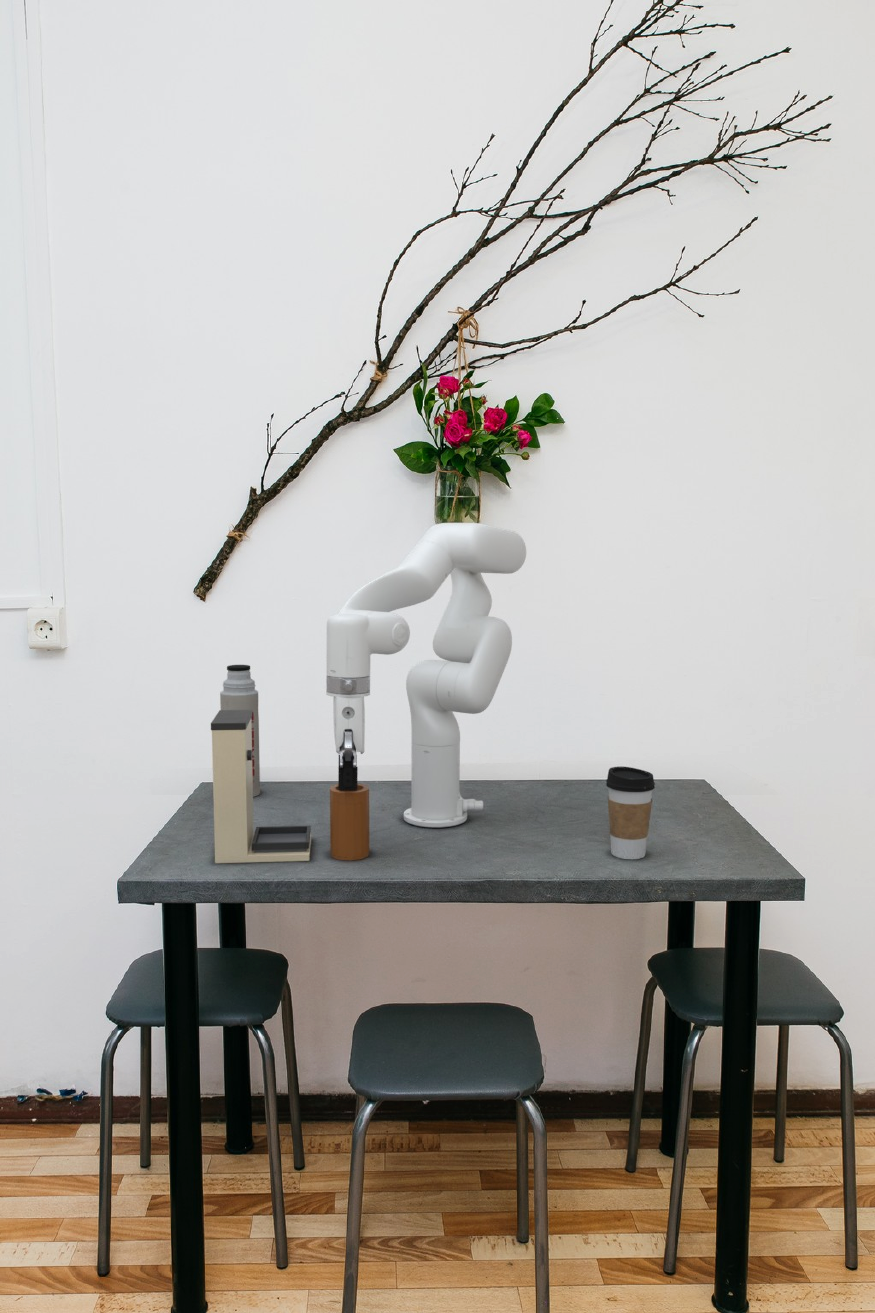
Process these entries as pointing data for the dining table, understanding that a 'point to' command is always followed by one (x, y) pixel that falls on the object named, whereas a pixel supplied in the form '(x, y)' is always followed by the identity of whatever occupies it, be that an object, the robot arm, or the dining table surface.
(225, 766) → the coffee maker
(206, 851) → the dining table surface
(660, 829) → the dining table surface
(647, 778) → the coffee cup
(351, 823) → the brown hollow cylinder
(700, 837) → the dining table surface
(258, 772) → the thermos bottle
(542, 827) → the dining table surface
